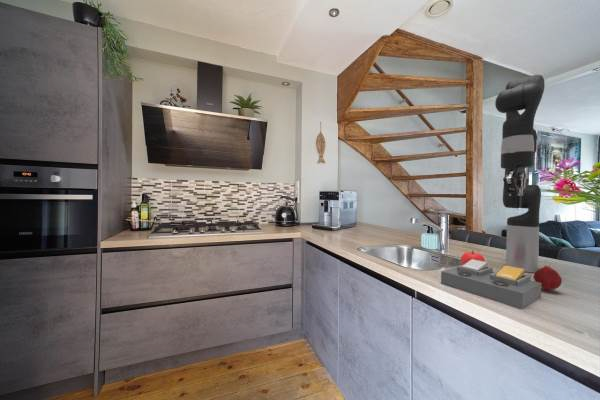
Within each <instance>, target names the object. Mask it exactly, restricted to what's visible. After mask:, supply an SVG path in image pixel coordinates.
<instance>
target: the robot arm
mask: <svg viewBox="0 0 600 400" xmlns="http://www.w3.org/2000/svg"><path fill="white" fill-rule="evenodd" d="M544 91H545V79H544V76H543V75H542V74H533V75H529V76H526V77H521V78H518V79H514V80H511V81H509V82H508V83H506V85H505V89H504V90H501V92H499V93H498V95H497V96H496V99H495V102H494V103H495V104H494V105H495V109H496V110H497V111H498V112H499V113H501V114H505V119H506V120H505V121H504V122H502V123H503V124H502V133H501V135H502V139H501V140H502V141H501V145H500V168H501V169H504V176H503V179H502V180H503V188H502V204H503V206H504V207H505V208H508V209H527V211H526V212H525V213H522V214H519V215H515V216H510V217H508V218H507V219H506V253H505V255H506V258H505V265H506V266H511V267H516V268H521V269H524V273H525V272H526V273H535V272H536V271H537V270H538V269H539V256H540V255H539V252H540V251H539V248H540V245H539V244H540V208H541V200H542V199H541V198H542V191H541V190H542V189H541V187H540V186H539V185H537V184H529V181H530V180H529V178H528V173H526V169H527V168H533V167H534V164H535V154H536V152H537V150H538V149H537V148H538V146H537V145H538V134H537V131H536V130H535V128H534V126H535V125H534V124H535V123H534V122H535V116H536V113H537V110H538V107H539V105H540V103H541V101H542V98H543V94H544ZM523 110H524V111H523ZM519 111H523V112H522V113H520V112H519Z"/></svg>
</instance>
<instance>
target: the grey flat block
mask: <svg viewBox="0 0 600 400" xmlns="http://www.w3.org/2000/svg"><path fill="white" fill-rule="evenodd" d="M462 266H463V265H458V266H455V267H452V268H451V267H450V268H447V269H444V270H440V271H441V272H440V284H441V285H445V286H447V287H448V286H449V287H451V288H454V289H458V290H461V291H464V292H467V293H470V294H473V295H477V296H479V297H484V298H486V299H489V300H492V301H496V302H499V303H502V304H505V305H508V306H511V307H515V308H518V309H521V310H524V309H525V308H527V307H528V306H530V305H531V304H532V303H534V302H535V301H537V300H539V299H540V298H541V297H542V287H541V283H540V282H536V281H535V280H531V275H527V274H523V275H522V277H521V278H520V279H519V280H517V281H516V280H512V279H508V278H504V277H499V276H496V274H497V273H498V272H499V271H497V272H496V271H494V270H493V269H494V267H491V266H487V267H486V268H484V269H483V270H481V271H474V270H470V269H466V268H462Z"/></svg>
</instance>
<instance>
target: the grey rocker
mask: <svg viewBox="0 0 600 400" xmlns="http://www.w3.org/2000/svg"><path fill="white" fill-rule="evenodd" d="M488 264H489V263H488V262H487V261H485V262H483V261H478V260H474V259H471V260H470V261H469V262H467V263H466V264H464V265H463V266H462V268H466V269H470V270H474V271H481V270H483V269H484V268H486V267H489V266H488Z"/></svg>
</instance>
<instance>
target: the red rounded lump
mask: <svg viewBox="0 0 600 400" xmlns="http://www.w3.org/2000/svg"><path fill="white" fill-rule="evenodd" d="M533 273H534V274H533V281H535V282H540V283H541V289H543V290H544V291H546V292H549V291H552V290H556V289H558V288H560V287H561V285H562V283H563V281H562V280H563V279H562V276H561V275H560V274H559V273H558V272H557V270H555V269H554V268H552V267H551V266H550V265H549V264H547V263H546V264H544V266H543V267H541V268H538V270H537V271H536V272H533Z"/></svg>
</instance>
